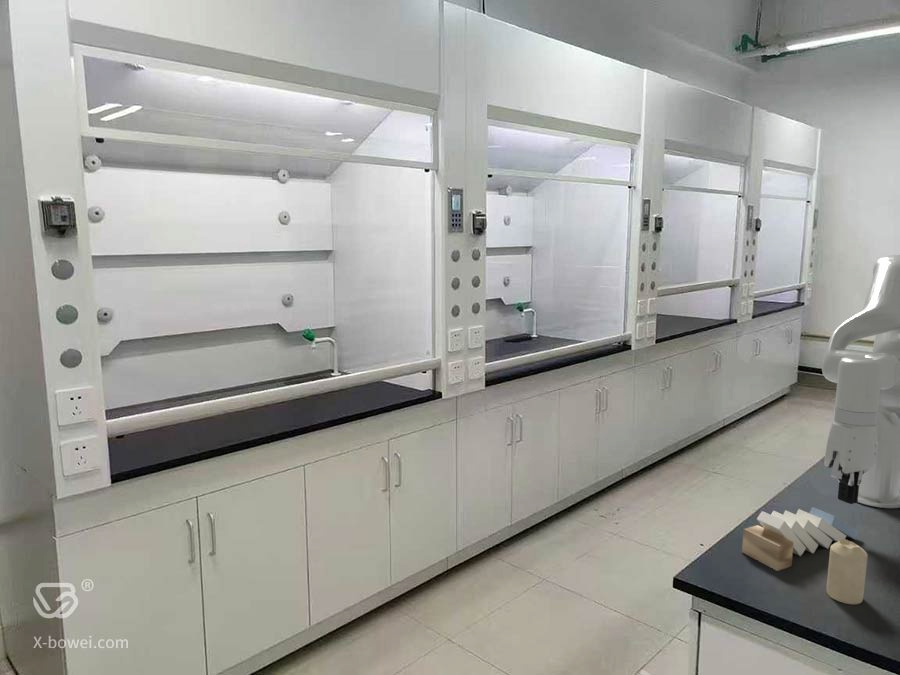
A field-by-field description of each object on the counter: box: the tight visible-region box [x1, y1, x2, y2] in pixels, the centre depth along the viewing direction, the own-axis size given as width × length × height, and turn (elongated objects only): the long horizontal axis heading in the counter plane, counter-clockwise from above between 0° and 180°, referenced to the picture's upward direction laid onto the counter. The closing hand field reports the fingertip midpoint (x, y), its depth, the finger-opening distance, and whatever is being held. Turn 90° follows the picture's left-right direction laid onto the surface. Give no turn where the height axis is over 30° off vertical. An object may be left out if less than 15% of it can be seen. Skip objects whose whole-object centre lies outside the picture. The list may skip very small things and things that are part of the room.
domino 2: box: [770, 510, 819, 554], centre depth 127 cm, size 2×5×10 cm
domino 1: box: [756, 510, 806, 557], centre depth 125 cm, size 2×5×10 cm
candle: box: [826, 538, 869, 605], centre depth 111 cm, size 6×6×10 cm
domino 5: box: [808, 506, 861, 541], centre depth 132 cm, size 2×5×10 cm
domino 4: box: [795, 508, 847, 543], centre depth 130 cm, size 2×5×10 cm
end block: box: [741, 524, 794, 571], centre depth 124 cm, size 4×8×5 cm, turn 25°
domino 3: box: [783, 509, 833, 550], centre depth 129 cm, size 2×5×10 cm
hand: (847, 501), depth 133 cm, fingers closed
